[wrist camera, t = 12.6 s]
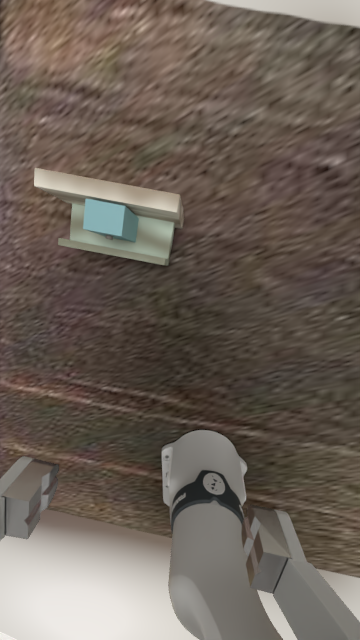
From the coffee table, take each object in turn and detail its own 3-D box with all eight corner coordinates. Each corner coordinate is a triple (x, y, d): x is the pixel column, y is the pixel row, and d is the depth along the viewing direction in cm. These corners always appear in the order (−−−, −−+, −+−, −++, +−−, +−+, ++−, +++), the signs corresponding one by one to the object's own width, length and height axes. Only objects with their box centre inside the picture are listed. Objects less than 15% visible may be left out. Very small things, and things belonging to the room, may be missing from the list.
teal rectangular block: (135, 245, 35) (120, 240, 29) (104, 239, 35) (82, 233, 29) (138, 218, 34) (125, 205, 28) (107, 212, 34) (85, 198, 28)
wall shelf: (175, 266, 41) (167, 266, 29) (78, 248, 41) (32, 240, 29) (184, 216, 39) (180, 194, 27) (82, 197, 39) (34, 167, 27)
